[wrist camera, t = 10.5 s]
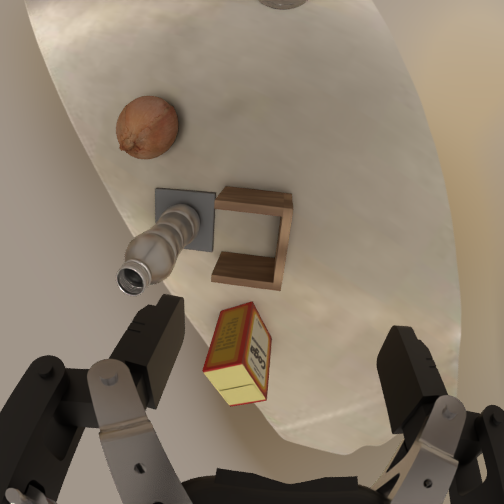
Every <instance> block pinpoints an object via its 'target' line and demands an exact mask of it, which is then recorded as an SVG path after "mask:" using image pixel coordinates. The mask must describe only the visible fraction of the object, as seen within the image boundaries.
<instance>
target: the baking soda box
mask: <svg viewBox="0 0 504 504" xmlns="http://www.w3.org/2000/svg"><path fill="white" fill-rule="evenodd" d="M271 341H272V338H271V336H270V334H269V332H268V330H267V328H266V326H265V325H264V323H263V321H262V319H261V317H260V315H259V313H258V311H257V309H256V307H255V305H254V303H253V302H249V303H246V304H242V305H239V306H236V307H232V308H229V309H226V310H222V311H221V312H220V315H219V318H218V322H217V325H216V328H215V331H214V335H213V338H212V341H211V344H210V348H209V351H208V354H207V357H206V361H205V364H204V367H203V372H204V374H205V375H206V376H207V378H208V379H209V380H210V382H211V383H212V384H213V385H214V387H215V388H216V389H217V390H218V392H219V393H220V394H221V395H222V397H223V398H224V399H225V400H226V402H227V403H228V404H229V405H230V406H237V405H243V404H249V403H255V402H261V401H266V400H267V391H268V380H269V367H270V354H271Z"/></svg>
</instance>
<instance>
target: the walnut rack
mask: <svg viewBox="0 0 504 504" xmlns="http://www.w3.org/2000/svg"><path fill="white" fill-rule="evenodd" d="M214 209H221V210H230V211H239V212H248V213H256V214H265V215H273V216H281V219H280V226H279V234H278V241H277V248H276V256H275V258H270V257H262V256H254V255H246V254H238V253H230V252H221V254H220V257H219V259H218V261H217V263H216V266H215V268H214V270H213V272H212V275H211V282H217V283H224V284H231V285H238V286H246V287H253V288H261V289H269V290H277V291H281V285H282V279H283V273H284V266H285V260H286V254H287V247H288V241H289V234H290V227H291V221H292V214H293V202H292V194H288V193H281V192H273V191H264V190H256V189H247V188H237V187H228V186H226V187H225V188H224V189H223V190H222V192H221V193H220V194H219V195H218V197H217V198H216V199H215V204H214Z"/></svg>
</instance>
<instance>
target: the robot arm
mask: <svg viewBox="0 0 504 504" xmlns="http://www.w3.org/2000/svg"><path fill="white" fill-rule="evenodd" d="M259 1H260V2H261V3H263V4H265V5H266V6H269V7H272V8H277V9H290V8H295V7H298V6H300V5H302V4H304V3H305V2H306V1H307V0H259ZM184 334H185V316H184V298H183V297H178V296H173V295H166V294H163V295H162V297H161V298H160V300H159V302H158V304H157V305H156V306H154V305H147V306H146V307H144V308H143V309H141V310H140V311H138V313H137V314H136V316H135V317H134V319H133V321H132V323H131V324H130V325H129V327H128V329H127V330H126V332H125V333H124V335H123V336H122V338H121V339H120V341H119V343H118V344H117V346H116V348H115V349H114V351H113V352H112V354H111V356H110V357H109V359H104V360H101V361H99V362H97V363H95V364H94V365H92V366H91V368H90V369H71V368H65V366H64V364H63V362H62V361H61V360H60V359H59V358H58V357H55V356H50V355H47V356H42V357H39V358H37V359H36V360H34V361H33V362H32V364H31V365H30V366H29V368H28V369H27V371H26V372H25V374H24V375H23V377H22V378H21V380H20V381H19V383H18V384H17V386H16V388H15V389H14V391H13V392H12V394H11V395H10V397H9V399H8V400H7V402H6V404H5V405H4V407H3V409H2V411H1V412H0V504H57V503H56V501H57V498H58V495H59V493H60V490H61V487H62V484H63V481H64V479H65V476H66V474H67V471H68V468H69V466H70V463H71V461H72V458H73V456H74V453H75V451H76V448H77V446H78V443H79V441H80V439H81V436H82V434H83V431H84V429H85V427H89V428H100V432H99V438H100V442H101V445H102V448H103V451H104V454H105V457H106V460H107V463H108V466H109V469H110V471H111V474H112V477H113V479H114V482H115V485H116V487H117V490H118V492H119V495H120V497H121V500H122V502H123V504H442V503H443V501H444V499H445V497H446V494H447V492H448V490H449V495H450V502H451V504H504V411H503V410H502V409H501V408H500V407H498V406H496V405H489V406H487V407H486V408H485V409H484V410H483V411H482V412H481V414H479V413H475V412H470V411H466V409H465V407H464V405H463V404H462V402H461V401H460V400H459V399H457V398H456V397H453V396H450V395H448V394H447V391H446V389H445V386H444V384H443V381H442V379H441V376H440V374H439V372H438V369H437V368H436V365H435V362H434V360H432V359H433V358H432V356H431V353H430V351H429V349H428V348H427V347H426V345H425V344H424V343H423V342H422V341H421V340H418V339H417V337H416V335H415V333H414V331H413V329H412V327H408V326H395V325H394V326H392V327H391V329H390V331H389V333H388V335H387V337H386V339H385V341H384V343H383V346H382V348H381V350H380V352H379V354H378V357H377V370H378V374H379V378H380V382H381V386H382V390H383V394H384V398H385V403H386V407H387V411H388V416H389V420H390V425H391V430H392V434H402V433H403V434H404V439H403V440H402V441H401V443H400V444H399V446H398V448H397V449H396V451H395V453H394V455H393V456H392V458H391V460H390V461H389V463H388V465H387V466H386V468H385V470H384V471H383V473H382V474H381V476H380V477H379V478H378V480H377V481H376V482H375V483H374V484H373V485H372V486H371V487H370V488H368V487H366V486H362V485H358V479H357V476H355V477H324V478H321V479H315V480H311V481H306V482H301V483H295V484H285V483H282V482H279V481H275V480H271V479H269V478H266V477H262V476H259V475H257V474H253V473H246V472H239V471H232V470H226V469H219V468H217V471H216V475H215V476H203V477H198V478H193V479H190V480H187V481H184V482H182V483H181V482H180V481H179V479H178V477H177V475H176V473H175V471H174V469H173V467H172V465H171V463H170V461H169V459H168V458H167V455H166V453H165V452H164V449H163V447H162V445H161V443H160V441H159V439H158V437H157V434H156V432H155V430H154V428H153V425H152V424H151V422H150V420H149V419H148V417H147V415H146V412H145V410H146V408H147V407H148V408H152V409H157V406H158V404H159V401H160V398H161V396H162V393H163V390H164V388H165V386H166V383H167V380H168V378H169V375H170V373H171V370H172V368H173V365H174V363H175V361H176V358H177V356H178V353H179V351H180V348H181V346H182V343H183V339H184ZM482 453H483V456H484V460H485V464H486V469H487V477H486V479H485V481H484V482H483V483H482V479H481V474H480V470H479V465H478V461H477V457H478V456H479V455H480V454H482Z"/></svg>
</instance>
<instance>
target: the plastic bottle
mask: <svg viewBox="0 0 504 504" xmlns="http://www.w3.org/2000/svg"><path fill="white" fill-rule="evenodd" d="M199 228H200V219H199V216H198V214H197V212H196V211H195V210H194V209H193V208H192V207H190V206H188V205H186V204H176V205H173V206H171V207H169V208H167V209H166V210H165V211H164V212H163V214H162V215H161V217H160V218H159V220H158V222H157V223H156V224H155V225H154V226H153V227H152V228H150V229H149V230H147V231H145V232H143V233H142V234H140V235H138V236H136V237H135V238H134V239H133V240H131V242H130V243H129V244H128V247H127V249H126V252H125V263H124V264H123V265H122V267H121V268H120V269H119V270H118V272H117V274H116V282H117V284H118V286H119V288H120V289H121V290H122V291H123V292H124V293H126V294H127V295H130V296H138V295H140V294H141V293H143V292H144V290H145V289H146V288H147V287H148V286H149V285H153V284H157V283H160V282H162V281H163V280H165V279H166V278H167V277H168V276H169V275H170V274H171V272H172V270H173V268H174V265H175V262H176V260H177V257H178V255H179V254H180V252H181V250H182V249H183V248H184V247H185V246H186V245H188V244H189V243H191V242H192V241H193V240H194V239H195V238H196V236H197V234H198V232H199Z"/></svg>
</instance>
